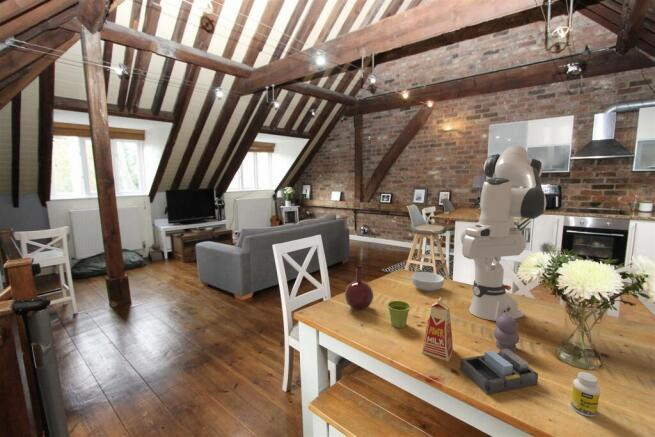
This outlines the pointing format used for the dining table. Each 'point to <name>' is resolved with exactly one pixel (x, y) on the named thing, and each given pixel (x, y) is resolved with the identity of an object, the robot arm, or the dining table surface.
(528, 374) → the tray
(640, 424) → the dining table surface
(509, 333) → the purple lumpy figurine
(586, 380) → the supplement bottle
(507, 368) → the light blue block
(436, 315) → the milk carton
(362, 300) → the round-bottom flask
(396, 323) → the plant pot
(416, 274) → the cereal bowl
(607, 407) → the dining table surface
